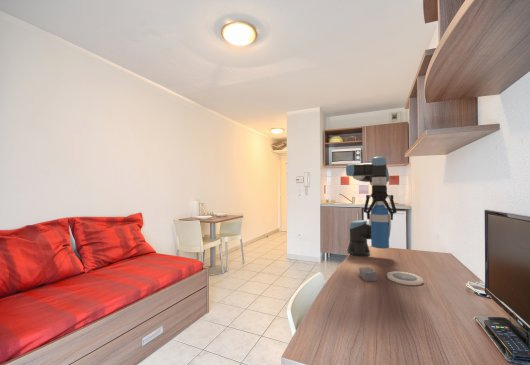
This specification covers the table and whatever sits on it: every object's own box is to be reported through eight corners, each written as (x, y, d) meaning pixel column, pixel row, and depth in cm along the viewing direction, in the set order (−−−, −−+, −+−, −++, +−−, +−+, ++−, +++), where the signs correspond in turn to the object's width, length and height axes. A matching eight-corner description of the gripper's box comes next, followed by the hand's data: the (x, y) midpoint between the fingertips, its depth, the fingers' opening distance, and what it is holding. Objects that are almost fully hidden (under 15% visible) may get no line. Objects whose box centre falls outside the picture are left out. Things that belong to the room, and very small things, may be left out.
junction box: (359, 275, 129) (359, 266, 129) (370, 275, 129) (370, 266, 129) (364, 280, 121) (364, 271, 121) (376, 280, 121) (376, 272, 121)
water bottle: (392, 248, 127) (392, 201, 128) (374, 248, 128) (374, 201, 129) (385, 244, 137) (384, 200, 137) (368, 244, 137) (367, 200, 138)
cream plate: (383, 272, 133) (383, 270, 133) (415, 274, 129) (415, 272, 129) (392, 283, 117) (392, 281, 117) (429, 286, 114) (429, 284, 114)
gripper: (359, 184, 133) (359, 225, 132) (403, 184, 127) (403, 227, 126) (357, 185, 140) (357, 224, 139) (399, 185, 134) (399, 225, 134)
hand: (379, 225), depth 133 cm, fingers closed on water bottle, 9 cm apart
